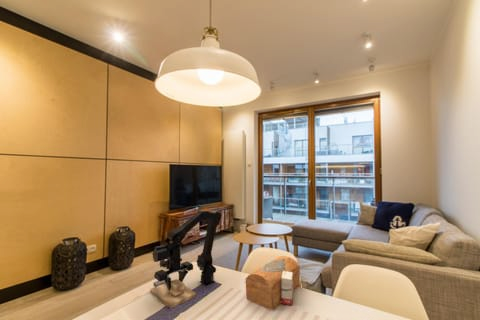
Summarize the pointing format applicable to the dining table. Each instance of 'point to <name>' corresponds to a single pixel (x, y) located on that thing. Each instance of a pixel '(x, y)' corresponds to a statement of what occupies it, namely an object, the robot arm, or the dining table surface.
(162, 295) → the oak board
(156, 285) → the graphite stick
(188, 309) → the dining table surface
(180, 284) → the tan rectangular block
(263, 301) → the wooden box
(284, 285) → the ink box
